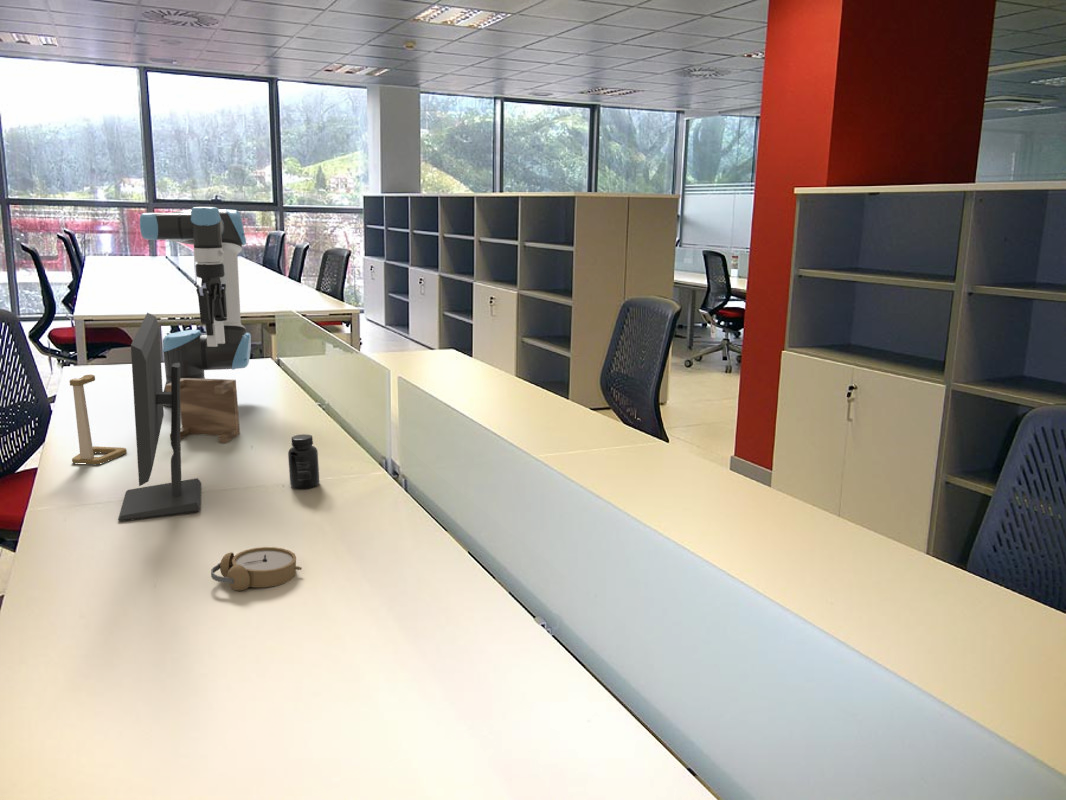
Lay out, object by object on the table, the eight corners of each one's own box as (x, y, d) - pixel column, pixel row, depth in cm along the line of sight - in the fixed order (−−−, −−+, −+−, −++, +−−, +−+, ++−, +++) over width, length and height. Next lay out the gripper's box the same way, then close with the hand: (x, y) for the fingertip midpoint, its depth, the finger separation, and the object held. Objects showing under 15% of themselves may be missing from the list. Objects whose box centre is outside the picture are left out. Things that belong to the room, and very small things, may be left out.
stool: (186, 431, 239) (181, 377, 235) (239, 433, 237) (235, 379, 233) (170, 441, 230) (165, 385, 226) (226, 443, 229) (221, 387, 225)
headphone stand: (129, 452, 220) (119, 371, 214) (104, 465, 209) (93, 381, 204) (91, 450, 221) (81, 370, 215) (65, 464, 210) (53, 379, 205)
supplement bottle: (325, 482, 200) (322, 434, 197) (309, 491, 194) (306, 442, 191) (301, 478, 202) (298, 431, 199) (284, 487, 196) (281, 439, 193)
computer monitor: (131, 476, 202) (112, 313, 192) (202, 469, 208) (187, 311, 198) (111, 546, 163) (86, 346, 153) (199, 536, 168) (181, 342, 158)
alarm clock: (306, 564, 150) (221, 571, 141) (303, 590, 151) (218, 598, 142) (286, 543, 159) (205, 548, 150) (283, 567, 160) (202, 573, 151)
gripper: (208, 266, 224) (215, 350, 230) (235, 260, 240) (241, 339, 246) (181, 265, 224) (189, 350, 230) (210, 260, 241) (217, 339, 247)
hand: (216, 344), depth 238 cm, fingers open, 4 cm apart
